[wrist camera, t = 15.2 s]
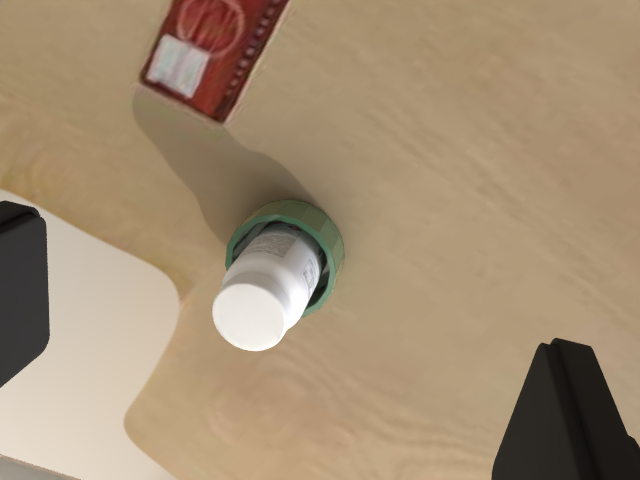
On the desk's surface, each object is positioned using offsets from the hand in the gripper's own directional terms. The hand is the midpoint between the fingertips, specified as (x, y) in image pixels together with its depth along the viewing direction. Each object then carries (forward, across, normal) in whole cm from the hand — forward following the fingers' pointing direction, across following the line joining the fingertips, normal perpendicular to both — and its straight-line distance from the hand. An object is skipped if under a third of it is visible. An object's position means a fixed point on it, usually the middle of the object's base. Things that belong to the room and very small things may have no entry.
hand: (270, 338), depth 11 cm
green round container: (+24, +5, +10) cm, 27 cm away
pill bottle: (+24, +5, +10) cm, 26 cm away
